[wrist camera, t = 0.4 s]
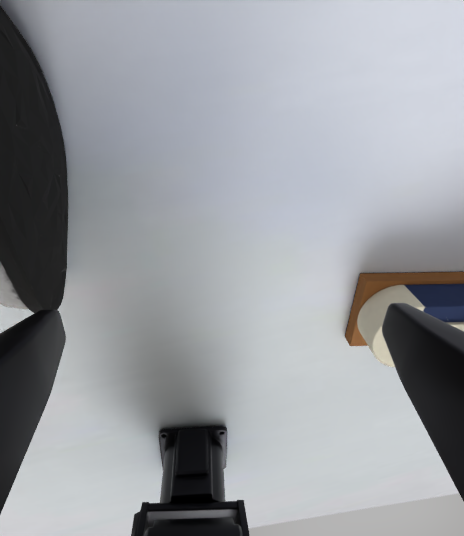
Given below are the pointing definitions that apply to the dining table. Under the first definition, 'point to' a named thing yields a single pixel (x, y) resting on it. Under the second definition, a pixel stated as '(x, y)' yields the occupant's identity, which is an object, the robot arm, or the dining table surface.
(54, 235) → the cowboy boot
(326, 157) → the dining table surface
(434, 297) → the toy high-top shoe
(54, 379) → the robot arm
